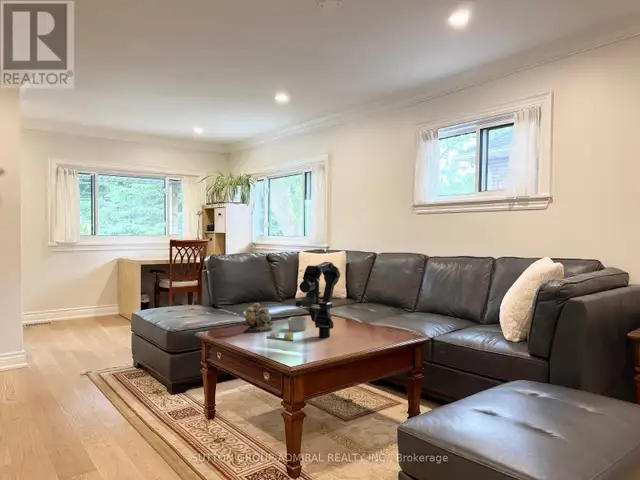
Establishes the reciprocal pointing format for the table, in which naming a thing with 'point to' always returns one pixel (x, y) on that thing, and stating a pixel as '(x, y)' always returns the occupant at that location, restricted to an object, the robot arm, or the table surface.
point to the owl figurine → (257, 319)
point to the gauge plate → (280, 338)
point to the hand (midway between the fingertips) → (313, 321)
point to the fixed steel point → (274, 334)
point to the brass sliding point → (288, 335)
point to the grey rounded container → (297, 323)
